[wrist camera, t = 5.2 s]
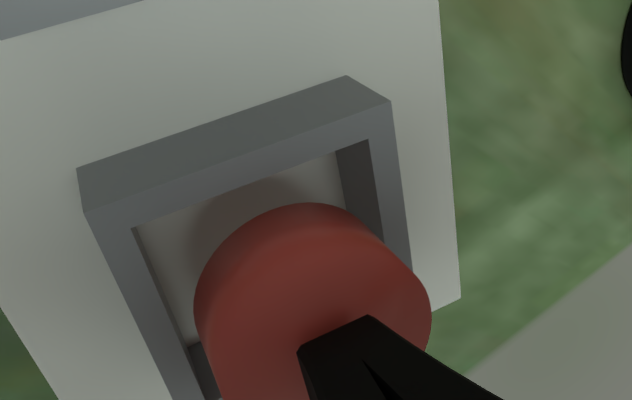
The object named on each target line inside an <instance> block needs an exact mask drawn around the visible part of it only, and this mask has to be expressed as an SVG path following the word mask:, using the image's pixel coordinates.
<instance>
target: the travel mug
mask: <svg viewBox="0 0 632 400" xmlns="http://www.w3.org/2000/svg"><path fill="white" fill-rule="evenodd" d="M622 68H623V74H624V79H625V82H626V85H627V88H628V90H629V92H630V94H631V95H632V7H631V10H630V13H629V16H628V19H627V23H626V27H625V32H624V38H623V45H622Z"/></svg>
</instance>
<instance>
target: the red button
mask: <svg viewBox="0 0 632 400" xmlns="http://www.w3.org/2000/svg"><path fill="white" fill-rule="evenodd" d="M193 314H194V322H195V326H196V329H197V332H198V335H199V338H200V340H201V343H202V346H203V348H204V351H205V353H206V356H207V359H208V361H209V364H210V367H211V369H212V372H213V375H214V377H215V380H216V382H217V385H218V388H219V390H220V393H221V396H222V398H223V400H310V399H309V395H308V392H307V389H306V385H305V382H304V378H303V375H302V372H301V368H300V365H299V361H298V358H297V354H296V352H297V350H298V349H299V347H300V346H301V345H302V344H304V343H306V342H308V341H310V340H313V339H315V338H317V337H319V336H321V335H323V334H325V333H328V332H330V331H332V330H334V329H336V328H338V327H341V326H343V325H345V324H347V323H349V322H351V321H354V320H356V319H358V318H360V317H362V316H364V315H367V314H368V315H371V316H373V317H375V318H376V319H378V320H379V321H380V322H382V323H383V324H385V325H386V326H387V327H389V328H390V329H392V330H393V331H394V332H396V333H397V334H399V335H400V336H402V337H403V338H405V339H406V340H408V341H409V342H410V343H412V344H413V345H415V346H416V347H418V348H419V349H421V350H422V351H425V348H426V345H427V343H428V339H429V335H430V330H431V321H432V315H431V305H430V300H429V297H428V294H427V292H426V289H425V287H424V286H423V284H422V282H421V281H420V280H419V278H418V277H417V276H416V275H415V274H414V273H413V272H412V271H411V270H410V269H409V268H408V267H407V266H406V265H405V264H404V263H403V262H402V261H401V260H400V259H399V258H398V257H397V256H396V255H395V254H394V253H393V252H392V251H391V250H390V249H389V248H388V247H387V246H386V245H385V244H384V243H383V242H382V241H381V240H380V239H379V238H378V237H377V236H376V235H375V234H374V233H373V232H372V231H371V230H370V229H369V228H368V227H367V226H366V225H365V224H364V223H363V222H362V221H361V220H360V219H358V218H357V217H356V216H354V215H353V214H352V213H350V212H348V211H346V210H344V209H342V208H339V207H336V206H334V205H329V204H324V203H313V202H306V203H295V204H290V205H285V206H281V207H278V208H275V209H272V210H269V211H267V212H265V213H263V214H260V215H258V216H256V217H254V218H253V219H251V220H250V221H248V222H246V223H245V224H243V225H242V226H240V227H239V228H238V229H237V230H235V231H234V232H233V233H232V234H230V235H229V236H228V237H227V238H226V239H225V240H224V241H223V242H222V243H221V244H220V246H219V247H218V248H217V249H216V250H215V252H214V253H213V254H212V256H211V257H210V259H209V260H208V262H207V263H206V265H205V267H204V269H203V271H202V273H201V275H200V277H199V280H198V283H197V286H196V290H195V295H194V302H193Z"/></svg>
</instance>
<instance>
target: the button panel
mask: <svg viewBox="0 0 632 400" xmlns="http://www.w3.org/2000/svg"><path fill="white" fill-rule="evenodd" d="M306 202H313V203H324V204H329V205H334V206H336V207H339V208H342V209H344V210H346V211H348V212H350V213H352V214H353V215H354V216H356V217H357V218H358V219H360V220H361V221H362V222H363V223H364V224H365V225H366V226H367V227H368V228H369V229H370V230H371V231H372V232H373V233H374V234H375V235H376V236H377V237H378V238H379V239H380V240H381V241H382V242H383V243H384V244H385V245H386V246H387V247H388V248H389V249H390V250H391V251H392V252H393V253H394V254H395V255H396V256H397V257H398V258H399V259H400V260H401V261H402V262H403V263H404V264H405V265H406V266H407V267H408V268H409V269H410V270H411V271H412V272H413V273H414V274H415V275H416V276H417V277H418V278H419V280H420V281H421V282H422V284H423V286H424V287H425V289H426V292H427V294H428V297H429V300H430V305H431V312H433V311H435V310H437V309H439V308H441V307H443V306H445V305H447V304H449V303H451V302H454V301H456V300H458V299H460V298H461V290H460V276H459V263H458V250H457V237H456V224H455V211H454V198H453V185H452V172H451V159H450V146H449V133H448V120H447V107H446V93H445V80H444V67H443V54H442V41H441V28H440V15H439V2H438V0H0V307H1V309H2V311H3V312H4V314H5V315H6V317H7V318H8V320H9V322H10V323H11V325H12V326H13V328H14V329H15V331H16V333H17V334H18V336H19V337H20V339H21V341H22V342H23V344H24V345H25V347H26V348H27V350H28V352H29V353H30V355H31V356H32V358H33V359H34V361H35V363H36V364H37V366H38V367H39V369H40V371H41V372H42V374H43V375H44V377H45V378H46V380H47V382H48V383H49V385H50V386H51V388H52V389H53V391H54V393H55V394H56V396H57V397H58V399H59V400H223V398H222V396H221V393H220V390H219V388H218V385H217V382H216V380H215V377H214V375H213V372H212V369H211V367H210V364H209V361H208V359H207V356H206V353H205V351H204V348H203V346H202V343H201V340H200V338H199V335H198V332H197V329H196V326H195V322H194V314H193V302H194V295H195V290H196V286H197V283H198V280H199V277H200V275H201V273H202V271H203V269H204V267H205V265H206V263H207V262H208V260H209V259H210V257H211V256H212V254H213V253H214V252H215V250H216V249H217V248H218V247H219V246H220V244H221V243H222V242H223V241H224V240H225V239H226V238H227V237H228V236H229V235H230V234H232V233H233V232H234V231H235V230H237V229H238V228H239V227H240V226H242V225H243V224H245V223H246V222H248V221H250V220H251V219H253V218H254V217H256V216H258V215H260V214H263V213H265V212H267V211H269V210H272V209H275V208H278V207H281V206H285V205H290V204H295V203H306Z"/></svg>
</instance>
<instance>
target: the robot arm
mask: <svg viewBox="0 0 632 400" xmlns="http://www.w3.org/2000/svg"><path fill="white" fill-rule="evenodd" d="M296 354H297V358H298V361H299V365H300V368H301V372H302V375H303V378H304V382H305V385H306V389H307V392H308V395H309V399H310V400H503V399H501V398H500V397H498V396H496V395H494V394H493V393H491V392H489V391H487V390H485V389H484V388H482V387H481V386H479V385H477V384H476V383H474V382H472V381H471V380H469V379H467V378H466V377H464V376H462V375H461V374H459V373H457V372H455V371H454V370H452V369H451V368H449V367H447V366H446V365H444V364H443V363H441V362H439V361H438V360H436V359H435V358H433V357H432V356H430V355H429V354H427V353H426V352H424V351H422V350H421V349H419V348H418V347H416V346H415V345H413V344H412V343H410V342H409V341H408V340H406V339H405V338H403V337H402V336H400V335H399V334H397V333H396V332H394V331H393V330H392V329H390V328H389V327H387V326H386V325H385V324H383V323H382V322H380V321H379V320H378V319H376V318H375V317H373V316H371V315H368V314H367V315H364V316H362V317H360V318H358V319H356V320H354V321H351V322H349V323H347V324H345V325H343V326H341V327H338V328H336V329H334V330H332V331H330V332H328V333H325V334H323V335H321V336H319V337H317V338H315V339H313V340H310V341H308V342H306V343H304V344H302V345H301V346H300V347H299V349H298V350H297V352H296Z"/></svg>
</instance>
